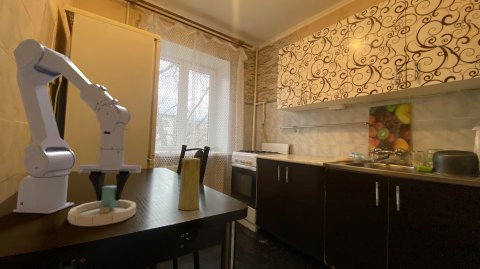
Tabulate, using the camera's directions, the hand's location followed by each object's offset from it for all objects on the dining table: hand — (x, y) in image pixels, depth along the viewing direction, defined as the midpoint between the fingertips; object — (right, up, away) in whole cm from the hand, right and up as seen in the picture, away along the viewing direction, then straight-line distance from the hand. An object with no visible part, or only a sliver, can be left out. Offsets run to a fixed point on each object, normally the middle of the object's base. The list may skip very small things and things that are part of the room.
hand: (109, 200), depth 56 cm
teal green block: (0, -2, 0) cm, 2 cm away
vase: (+20, -4, +5) cm, 21 cm away
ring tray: (+1, -3, -3) cm, 4 cm away
